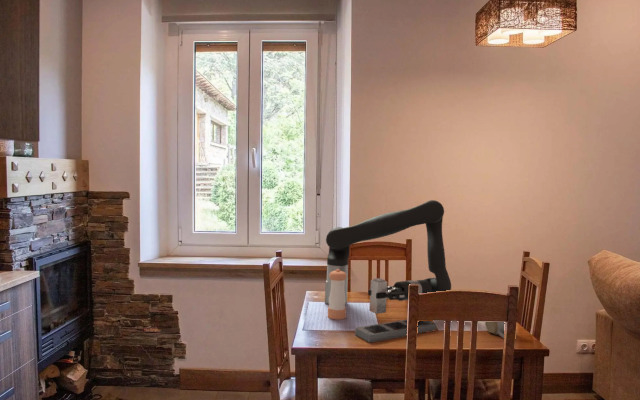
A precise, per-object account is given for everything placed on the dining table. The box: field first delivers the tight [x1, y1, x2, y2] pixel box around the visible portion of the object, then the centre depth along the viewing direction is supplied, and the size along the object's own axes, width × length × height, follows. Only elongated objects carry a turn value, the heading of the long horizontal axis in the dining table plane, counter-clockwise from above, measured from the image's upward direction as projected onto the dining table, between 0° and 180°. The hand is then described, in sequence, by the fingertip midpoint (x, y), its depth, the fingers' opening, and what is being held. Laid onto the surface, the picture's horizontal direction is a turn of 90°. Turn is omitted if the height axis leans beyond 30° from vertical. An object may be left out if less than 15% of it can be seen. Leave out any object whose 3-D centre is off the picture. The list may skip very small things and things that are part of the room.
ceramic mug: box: [484, 321, 505, 339], centre depth 174 cm, size 11×8×8 cm
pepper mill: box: [327, 269, 347, 320], centre depth 190 cm, size 7×7×19 cm
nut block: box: [368, 277, 388, 315], centre depth 184 cm, size 4×4×13 cm
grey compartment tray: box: [354, 318, 438, 344], centre depth 174 cm, size 30×9×2 cm, turn 119°
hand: (372, 294), depth 183 cm, fingers closed on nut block, 4 cm apart
